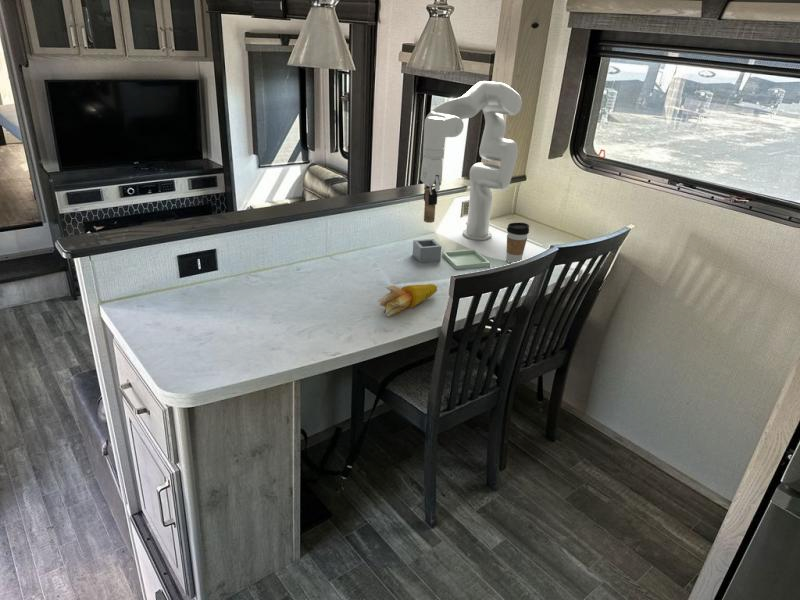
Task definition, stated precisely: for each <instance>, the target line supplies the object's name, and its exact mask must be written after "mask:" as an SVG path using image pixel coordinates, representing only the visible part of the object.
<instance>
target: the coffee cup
mask: <svg viewBox="0 0 800 600" xmlns="http://www.w3.org/2000/svg"><path fill="white" fill-rule="evenodd" d="M506 228H507V229H506V231H507V235H506V254H505V255H506V257H505V261H506V260H507V261H509V262H510V263H509V262H508V263H509V264H513V263H512V262H517V261H520V260H521V261H522V259H523V255H524V250H525V248H526V244H527V241H528V240H527V239H528V234H529V233H530V224H528V223H526V222H511V223H509V224H508V225H507V227H506ZM507 261H506V262H507Z"/></svg>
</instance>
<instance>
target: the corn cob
mask: <svg viewBox="0 0 800 600" xmlns="http://www.w3.org/2000/svg"><path fill="white" fill-rule="evenodd" d="M385 288H386V289H387V290H389V291H390V292H388V293H386V294H385V295H383V296H382V298H379V299H378V300H377V303H379V306H380V307H384V309H383V313H385V315H386V318H390V317H392V316H393V315H396V314H398V313H400V312H402V311H403V310H405V309H407V308H408V309H410V310H411V309H413V308H414V307H416V306H417V305H418V304H421V302H423V301H425V300H427V299H428V298H430V297H431V296H433V295H434V294H435V293H437V292H438V286H437V285H436V284H435V283H434V284H433V283H429V284H411V285H406V286H403V287H401V288H400V287H398V286H396V285H395V284H394V285H389V286H386V287H385Z"/></svg>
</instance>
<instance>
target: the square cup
mask: <svg viewBox="0 0 800 600" xmlns="http://www.w3.org/2000/svg"><path fill="white" fill-rule="evenodd" d="M412 256H413V257H414V258H415V260H417V262H418V263H420V264H424V263H434V262H441V257H442V245H440V243H438V242H437V240H435V239H434V238H426V239H425V238H424V239H414V240H413V241H412Z"/></svg>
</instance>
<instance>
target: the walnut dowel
mask: <svg viewBox="0 0 800 600" xmlns="http://www.w3.org/2000/svg"><path fill="white" fill-rule="evenodd" d="M432 190H433V188H432ZM429 194H430V188H428V189H426V191H425V201H424V210H423V211H424V212H423V222H424V223H429V224H431V223H432V224H433V223H435V218H436V217H435V216H436V205H429V204H428V200H429Z"/></svg>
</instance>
